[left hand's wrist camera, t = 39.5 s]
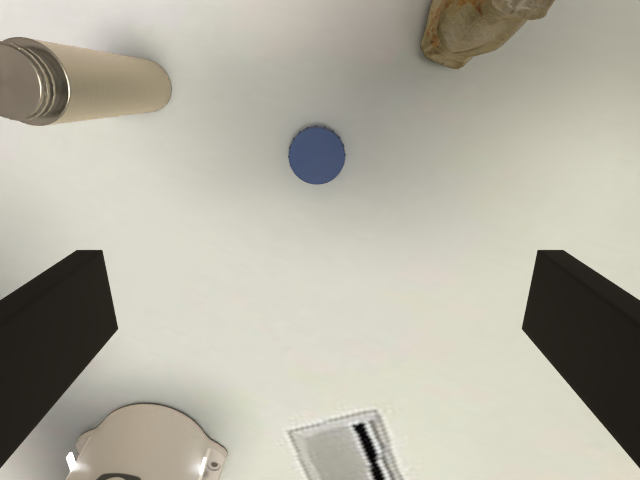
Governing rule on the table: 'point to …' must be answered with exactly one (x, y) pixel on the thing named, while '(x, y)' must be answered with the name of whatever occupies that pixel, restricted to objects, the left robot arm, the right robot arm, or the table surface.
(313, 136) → the lid
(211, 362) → the table surface
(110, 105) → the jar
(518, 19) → the sculpture
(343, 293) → the table surface
